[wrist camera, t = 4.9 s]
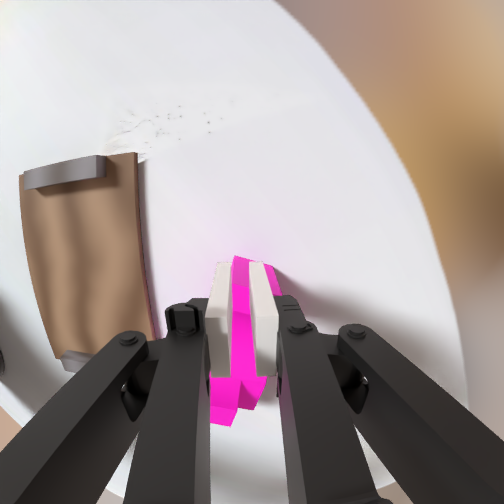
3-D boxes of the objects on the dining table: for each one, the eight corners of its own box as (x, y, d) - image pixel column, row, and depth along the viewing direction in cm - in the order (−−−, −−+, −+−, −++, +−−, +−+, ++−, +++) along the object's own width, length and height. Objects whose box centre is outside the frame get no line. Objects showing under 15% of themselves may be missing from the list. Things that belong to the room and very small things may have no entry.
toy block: (252, 384, 31) (254, 430, 23) (201, 373, 30) (192, 418, 23) (296, 271, 27) (314, 304, 20) (234, 254, 26) (232, 283, 19)
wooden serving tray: (59, 354, 29) (48, 366, 26) (24, 175, 23) (8, 176, 20) (162, 369, 29) (156, 385, 26) (137, 153, 23) (125, 150, 20)
